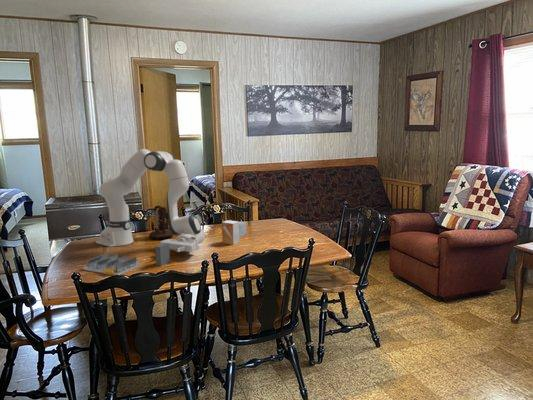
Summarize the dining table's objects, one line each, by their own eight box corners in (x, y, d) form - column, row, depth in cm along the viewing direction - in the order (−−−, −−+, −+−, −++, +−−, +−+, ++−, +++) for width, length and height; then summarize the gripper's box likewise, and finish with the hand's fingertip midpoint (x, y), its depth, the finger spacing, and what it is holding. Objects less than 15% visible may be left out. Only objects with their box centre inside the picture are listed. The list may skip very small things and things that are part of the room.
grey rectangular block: (156, 265, 199) (155, 246, 197) (165, 261, 205) (164, 242, 203) (161, 266, 198) (160, 247, 196) (169, 262, 204) (168, 243, 202)
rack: (81, 270, 193) (81, 261, 192) (107, 259, 208) (107, 251, 207) (116, 276, 184) (116, 267, 184) (141, 265, 199) (140, 256, 199)
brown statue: (145, 236, 253) (143, 206, 249) (167, 233, 261) (166, 203, 258) (154, 241, 241) (152, 209, 238) (177, 237, 250) (175, 206, 246)
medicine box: (241, 234, 257) (241, 221, 256) (246, 235, 254) (246, 222, 253) (233, 236, 251) (232, 223, 250) (238, 237, 248) (238, 224, 247)
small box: (222, 243, 237) (221, 222, 234) (228, 240, 242) (227, 219, 240) (233, 245, 233) (232, 223, 230) (239, 242, 238) (238, 221, 236)
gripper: (168, 235, 221) (152, 241, 209) (200, 238, 213) (185, 245, 201) (169, 245, 222) (153, 252, 210) (200, 250, 214) (185, 257, 202)
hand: (169, 249), depth 205 cm, fingers open, 8 cm apart
